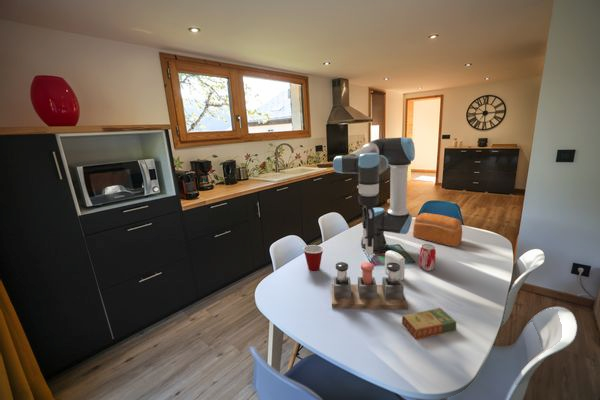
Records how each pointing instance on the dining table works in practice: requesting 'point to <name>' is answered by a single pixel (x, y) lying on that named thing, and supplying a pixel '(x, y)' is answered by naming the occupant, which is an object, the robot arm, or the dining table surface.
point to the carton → (428, 323)
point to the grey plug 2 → (393, 273)
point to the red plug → (367, 273)
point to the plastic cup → (313, 256)
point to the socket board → (368, 295)
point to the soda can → (427, 257)
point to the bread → (438, 229)
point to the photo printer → (395, 258)
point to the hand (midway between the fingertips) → (367, 248)
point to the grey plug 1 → (342, 272)
